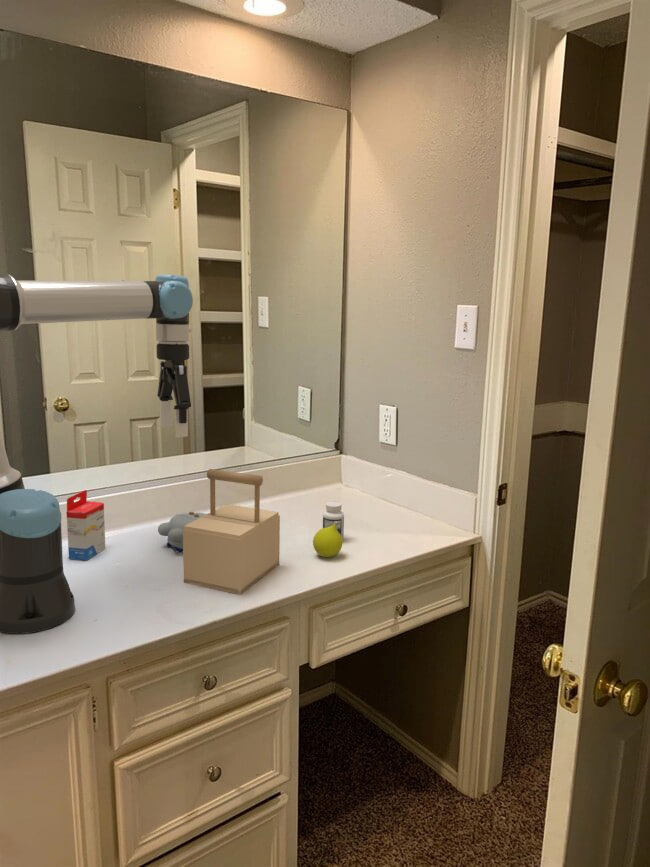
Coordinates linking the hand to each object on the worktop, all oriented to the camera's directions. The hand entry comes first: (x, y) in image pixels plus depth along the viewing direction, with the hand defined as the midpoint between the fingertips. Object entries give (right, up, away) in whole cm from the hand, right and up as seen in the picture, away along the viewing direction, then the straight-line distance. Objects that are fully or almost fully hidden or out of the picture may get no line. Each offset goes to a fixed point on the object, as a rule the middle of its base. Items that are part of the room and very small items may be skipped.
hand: (173, 431), depth 158 cm
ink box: (-20, -29, -1) cm, 36 cm away
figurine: (+5, -28, +8) cm, 30 cm away
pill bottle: (+38, -28, +12) cm, 49 cm away
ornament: (+37, -30, +1) cm, 48 cm away
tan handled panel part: (+18, -19, -9) cm, 28 cm away
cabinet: (+16, -32, -11) cm, 37 cm away
